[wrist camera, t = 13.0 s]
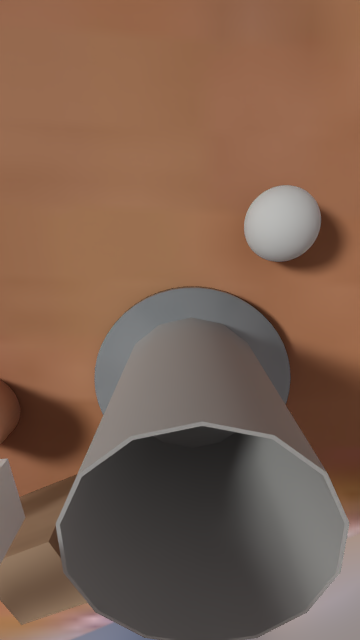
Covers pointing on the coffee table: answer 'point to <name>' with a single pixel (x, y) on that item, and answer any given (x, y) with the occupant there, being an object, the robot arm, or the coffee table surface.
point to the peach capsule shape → (8, 411)
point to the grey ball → (282, 223)
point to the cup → (200, 497)
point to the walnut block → (38, 559)
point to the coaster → (183, 306)
